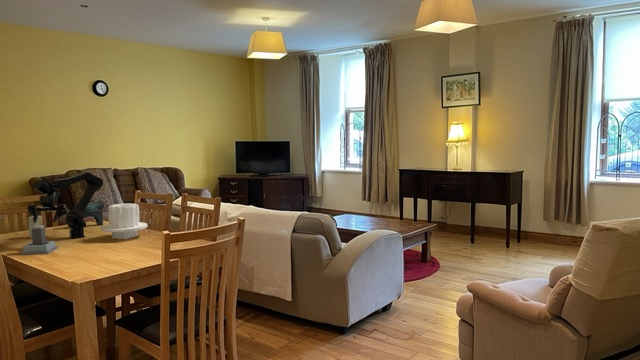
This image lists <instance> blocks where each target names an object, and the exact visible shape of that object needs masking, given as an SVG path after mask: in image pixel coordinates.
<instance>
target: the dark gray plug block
mask: <svg viewBox="0 0 640 360" xmlns="http://www.w3.org/2000/svg"><path fill="white" fill-rule="evenodd" d="M31 240H32V241H31V242H32V243H33V245H46V241H47V240H46V227H45V225H40V226H34V227H32V238H31Z"/></svg>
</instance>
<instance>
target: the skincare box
mask: <svg viewBox="0 0 640 360" xmlns="http://www.w3.org/2000/svg"><path fill="white" fill-rule="evenodd" d="M27 218H28V220H27V221H28V222H27V223H28V238H29V239H32V227H34V226H40V225H43V215H39V216H38V218H37V221H36V223H34V219H33V216H32V215H31V216H28V217H27Z"/></svg>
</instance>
